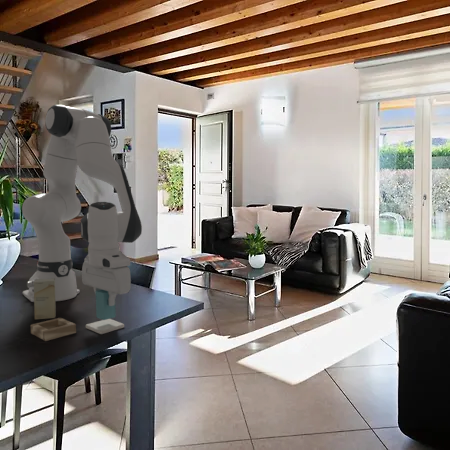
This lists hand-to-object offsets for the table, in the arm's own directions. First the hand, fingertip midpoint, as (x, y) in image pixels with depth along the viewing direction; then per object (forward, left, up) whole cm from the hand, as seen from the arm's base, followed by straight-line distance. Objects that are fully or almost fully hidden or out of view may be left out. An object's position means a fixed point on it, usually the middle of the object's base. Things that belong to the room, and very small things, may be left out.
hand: (105, 303), depth 129 cm
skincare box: (-23, -7, -8) cm, 25 cm away
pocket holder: (-7, -13, -7) cm, 16 cm away
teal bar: (0, 0, -4) cm, 4 cm away
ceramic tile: (0, 0, -7) cm, 7 cm away
